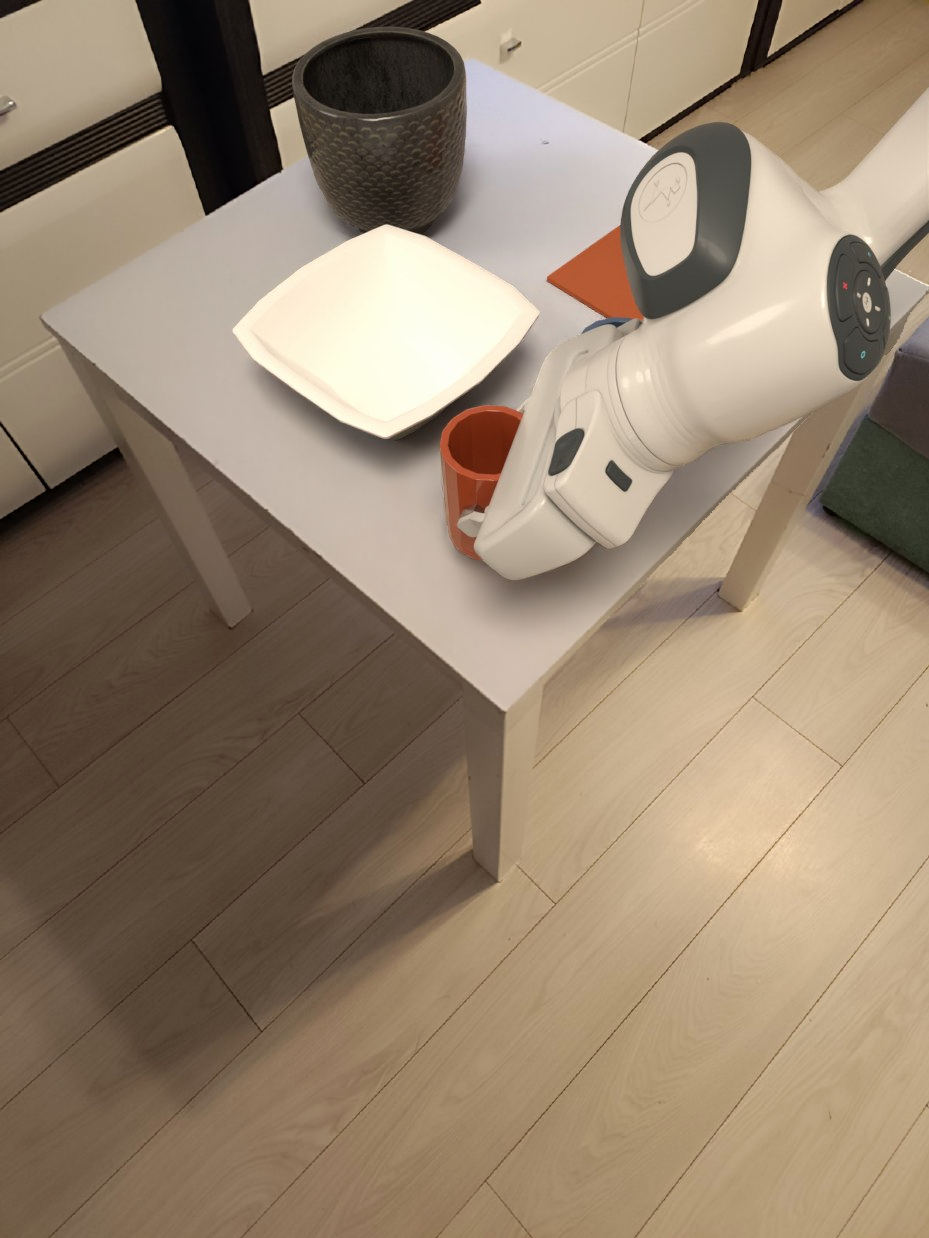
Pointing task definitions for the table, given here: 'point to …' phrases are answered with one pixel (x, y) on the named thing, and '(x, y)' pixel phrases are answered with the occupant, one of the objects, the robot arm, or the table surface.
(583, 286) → the rust mat
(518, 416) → the rust cup
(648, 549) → the table surface
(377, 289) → the bowl
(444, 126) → the planter
